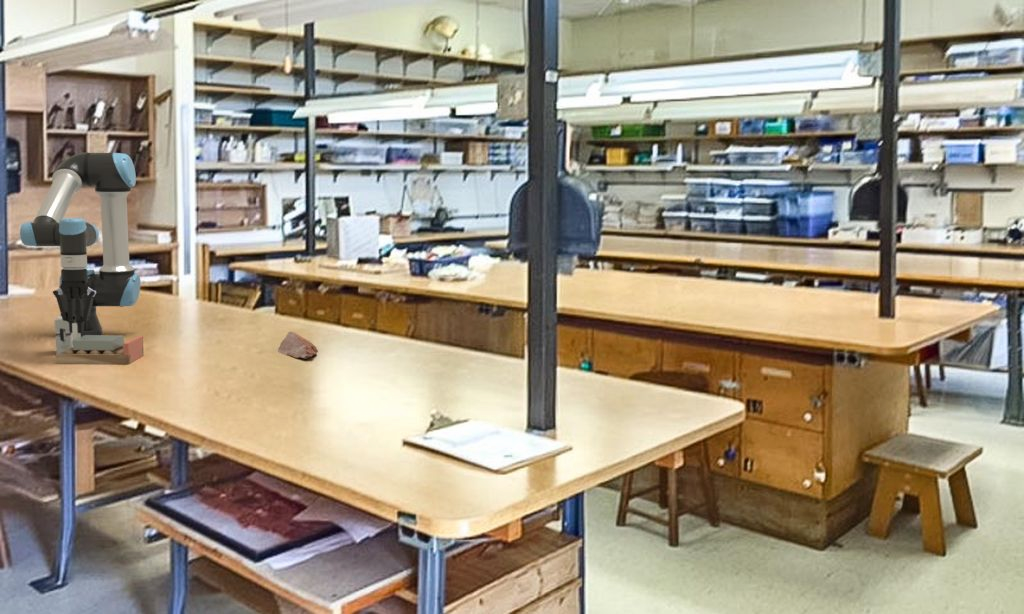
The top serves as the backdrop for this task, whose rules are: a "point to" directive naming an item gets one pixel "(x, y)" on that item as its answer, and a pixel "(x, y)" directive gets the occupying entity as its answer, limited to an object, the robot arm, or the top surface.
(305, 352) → the rock
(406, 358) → the top surface
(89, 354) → the roller bed
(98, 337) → the stone slab
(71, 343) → the ink box
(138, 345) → the stop rail
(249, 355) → the top surface
